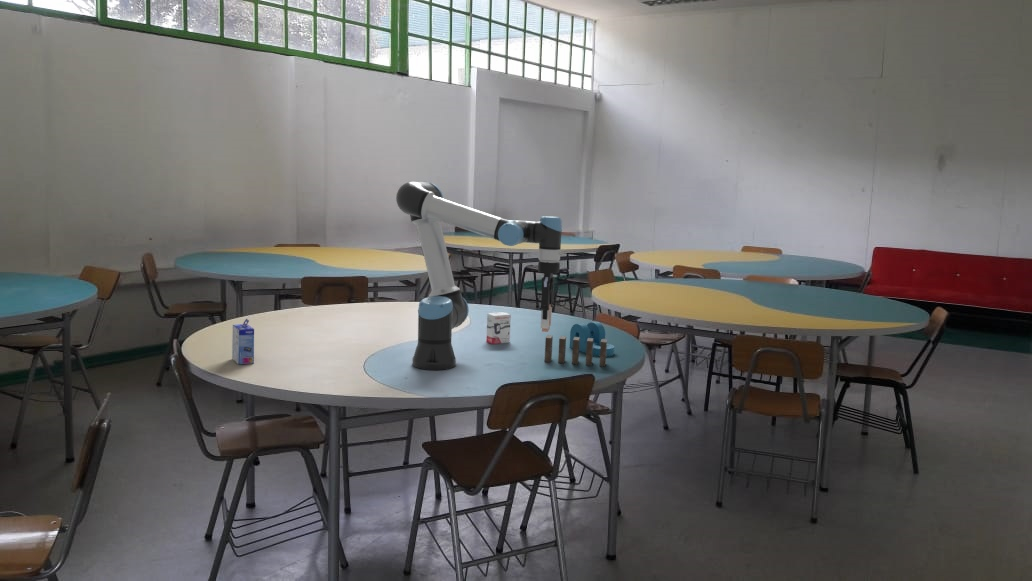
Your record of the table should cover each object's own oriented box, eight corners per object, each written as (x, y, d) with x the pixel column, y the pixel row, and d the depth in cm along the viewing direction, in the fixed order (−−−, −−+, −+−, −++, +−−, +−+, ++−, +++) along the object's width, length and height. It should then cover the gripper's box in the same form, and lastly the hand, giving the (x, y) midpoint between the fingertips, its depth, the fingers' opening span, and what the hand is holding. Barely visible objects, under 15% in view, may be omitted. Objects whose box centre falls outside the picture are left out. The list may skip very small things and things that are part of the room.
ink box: (492, 344, 300) (493, 315, 298) (485, 341, 304) (486, 313, 302) (510, 342, 304) (511, 313, 303) (503, 340, 308) (504, 311, 307)
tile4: (578, 361, 278) (579, 337, 276) (577, 364, 273) (578, 340, 272) (573, 360, 278) (574, 336, 277) (571, 364, 273) (573, 339, 272)
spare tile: (549, 329, 267) (550, 304, 266) (547, 331, 263) (548, 306, 261) (544, 328, 268) (545, 303, 266) (541, 331, 263) (543, 306, 262)
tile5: (592, 362, 277) (593, 338, 276) (591, 365, 272) (592, 341, 271) (586, 361, 277) (587, 337, 276) (585, 365, 272) (586, 340, 271)
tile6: (605, 363, 276) (607, 339, 275) (605, 366, 271) (606, 342, 270) (600, 362, 277) (601, 338, 275) (599, 366, 272) (600, 341, 270)
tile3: (564, 360, 279) (566, 336, 277) (563, 363, 274) (564, 339, 272) (559, 359, 279) (560, 335, 278) (558, 362, 274) (559, 338, 273)
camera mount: (569, 347, 300) (570, 322, 298) (589, 345, 306) (591, 320, 304) (598, 357, 285) (600, 330, 284) (619, 355, 291) (621, 328, 289)
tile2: (551, 359, 279) (552, 335, 278) (549, 362, 274) (551, 338, 273) (546, 358, 280) (547, 335, 278) (544, 361, 275) (545, 337, 273)
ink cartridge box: (255, 363, 256) (254, 322, 254) (238, 365, 253) (237, 323, 251) (248, 357, 264) (247, 316, 262) (231, 358, 261) (231, 317, 259)
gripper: (556, 264, 252) (552, 332, 256) (563, 259, 270) (559, 322, 273) (534, 263, 253) (531, 330, 257) (542, 257, 271) (539, 321, 274)
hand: (545, 326), depth 265 cm, fingers closed on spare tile, 5 cm apart
